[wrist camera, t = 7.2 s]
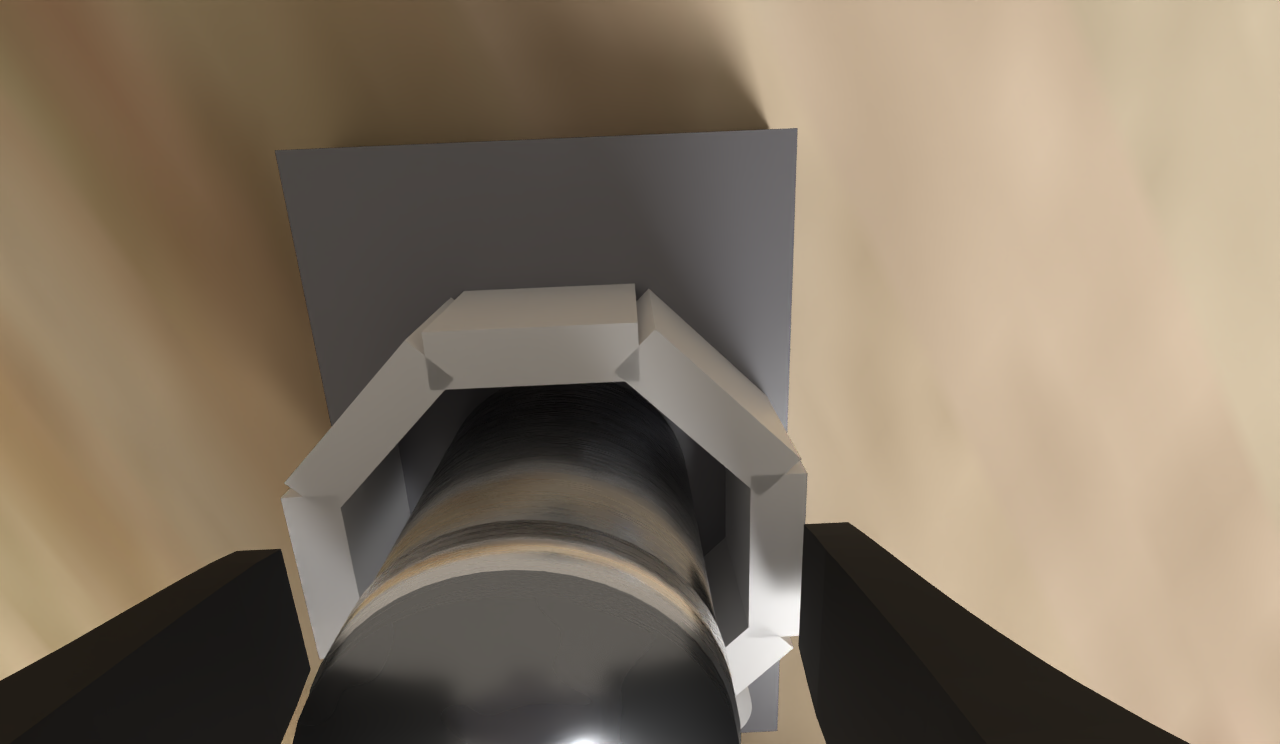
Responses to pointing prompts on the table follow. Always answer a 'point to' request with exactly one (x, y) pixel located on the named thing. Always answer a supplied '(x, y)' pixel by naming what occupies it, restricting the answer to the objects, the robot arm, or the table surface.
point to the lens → (538, 592)
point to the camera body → (555, 341)
